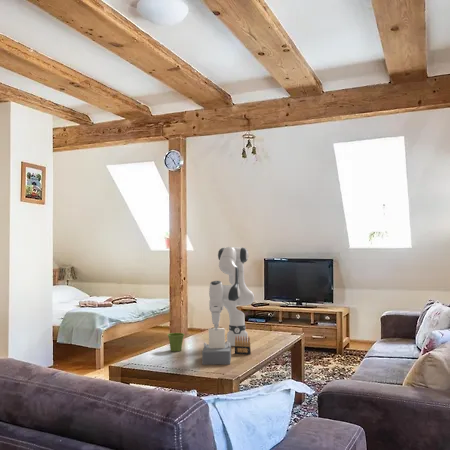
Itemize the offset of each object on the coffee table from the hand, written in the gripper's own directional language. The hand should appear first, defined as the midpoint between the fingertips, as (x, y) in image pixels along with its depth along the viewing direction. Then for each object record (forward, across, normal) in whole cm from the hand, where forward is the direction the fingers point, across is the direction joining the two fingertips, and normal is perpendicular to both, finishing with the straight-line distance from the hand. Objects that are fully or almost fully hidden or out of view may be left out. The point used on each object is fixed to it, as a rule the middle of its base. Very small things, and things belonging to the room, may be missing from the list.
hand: (216, 328), depth 321 cm
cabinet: (+20, +1, 0) cm, 20 cm away
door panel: (+12, 0, 0) cm, 12 cm away
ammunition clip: (+20, -18, +16) cm, 31 cm away
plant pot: (+21, -28, -30) cm, 46 cm away
